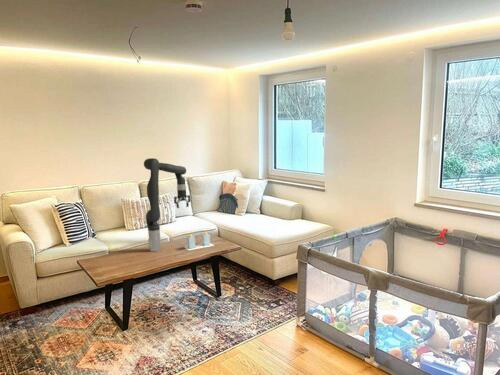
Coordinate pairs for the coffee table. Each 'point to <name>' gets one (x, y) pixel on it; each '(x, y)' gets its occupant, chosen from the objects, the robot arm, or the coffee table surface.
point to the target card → (199, 246)
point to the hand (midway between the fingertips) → (182, 207)
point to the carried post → (191, 242)
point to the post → (206, 239)
